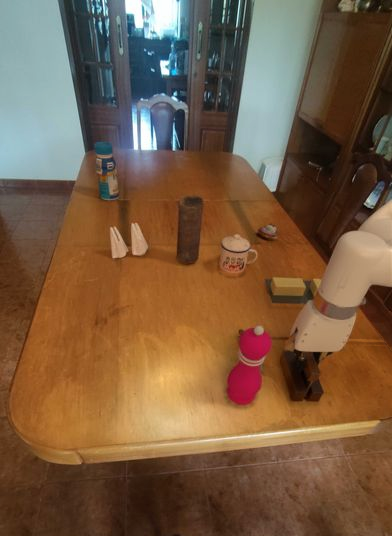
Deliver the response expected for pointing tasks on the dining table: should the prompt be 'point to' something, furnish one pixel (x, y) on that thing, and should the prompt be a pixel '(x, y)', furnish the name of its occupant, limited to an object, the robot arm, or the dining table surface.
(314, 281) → the butter slice
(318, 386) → the dark wooden bar pair
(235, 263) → the teacup with lid
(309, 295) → the slate board
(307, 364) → the dark brown flat block
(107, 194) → the beverage bottle
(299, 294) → the butter
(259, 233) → the pastry
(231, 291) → the dining table surface
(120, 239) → the shaker set
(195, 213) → the candle
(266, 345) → the pepper mill
